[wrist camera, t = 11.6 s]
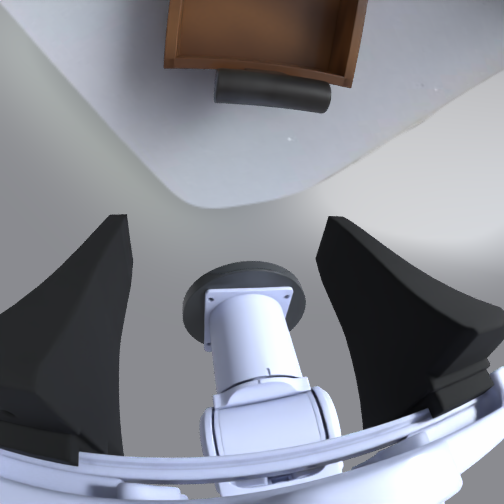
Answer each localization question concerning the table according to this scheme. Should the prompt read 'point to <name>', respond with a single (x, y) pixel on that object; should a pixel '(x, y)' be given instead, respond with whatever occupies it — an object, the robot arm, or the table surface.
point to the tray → (268, 48)
